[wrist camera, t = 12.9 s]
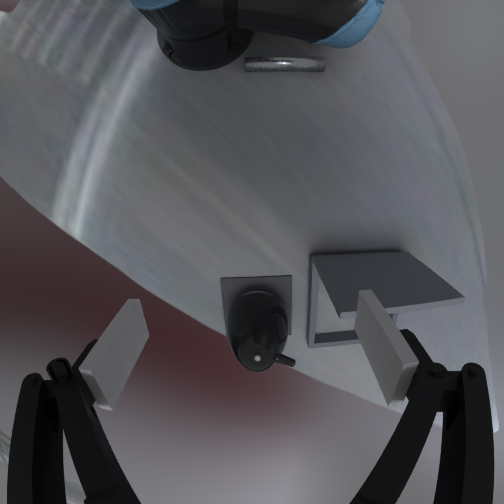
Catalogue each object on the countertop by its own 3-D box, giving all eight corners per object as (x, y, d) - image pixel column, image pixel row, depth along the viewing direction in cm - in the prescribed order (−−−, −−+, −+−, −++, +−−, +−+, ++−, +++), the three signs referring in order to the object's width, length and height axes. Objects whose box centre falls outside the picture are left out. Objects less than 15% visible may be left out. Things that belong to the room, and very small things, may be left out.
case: (309, 250, 48) (340, 312, 29) (406, 246, 47) (471, 296, 28) (306, 338, 53) (324, 419, 34) (392, 329, 53) (434, 396, 34)
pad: (220, 277, 49) (220, 278, 49) (291, 275, 49) (291, 276, 49) (226, 335, 53) (226, 336, 53) (290, 333, 53) (290, 334, 53)
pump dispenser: (280, 335, 53) (287, 394, 38) (225, 327, 52) (215, 384, 38) (293, 287, 49) (306, 340, 35) (233, 277, 49) (224, 328, 35)
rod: (245, 65, 36) (244, 54, 36) (245, 74, 38) (245, 63, 38) (326, 66, 36) (323, 55, 36) (323, 74, 38) (321, 63, 38)
